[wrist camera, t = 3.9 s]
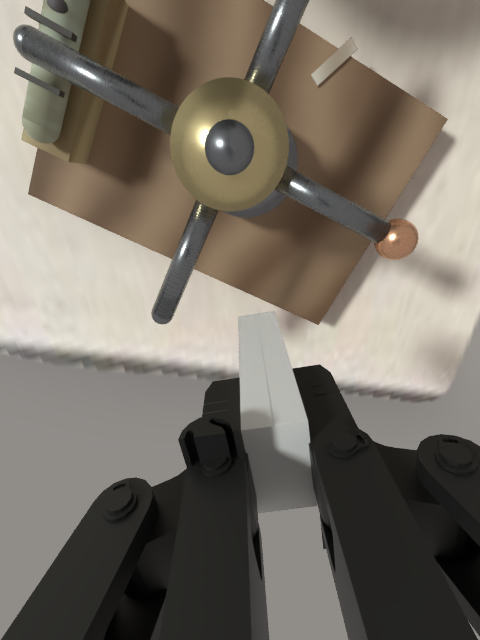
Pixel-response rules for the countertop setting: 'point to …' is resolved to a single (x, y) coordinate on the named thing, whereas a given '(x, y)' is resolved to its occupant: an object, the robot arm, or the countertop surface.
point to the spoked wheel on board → (154, 145)
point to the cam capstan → (223, 146)
